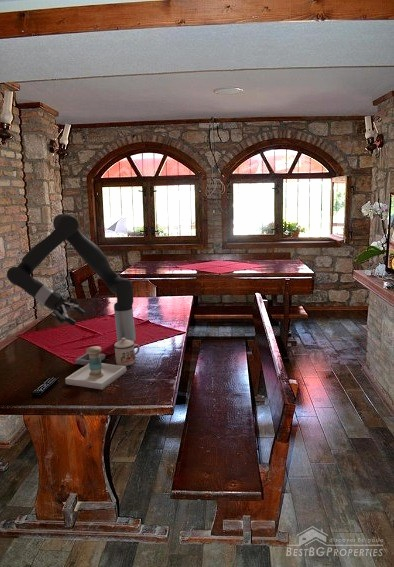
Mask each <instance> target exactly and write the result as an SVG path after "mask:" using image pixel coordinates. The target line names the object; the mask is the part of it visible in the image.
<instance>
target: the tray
mask: <svg viewBox="0 0 394 567" xmlns="http://www.w3.org/2000/svg"><path fill="white" fill-rule="evenodd" d="M101 367H102V368H101V371H103V372H104V376H103V377H101V378H98V379H91V378H90V377H89V373H90V372H91V370H90V366H89V364H87V365H83V367H81V368H79V369H77V370H76V371H74V372H73V373H72V374H70V375H68V376H67V377H66V378H64V380H65V381H64V382H65V385H69V386H70V385H71V386H77V387H81V388H83V387H84V388H89V389H90V388H91V389H97V390H104V389H105V388H107V387H108V386H110V385H111V384H112V383H113V382H115V381H116V380H117V379H119V378H121V377H122V375H124V374H126V372H127V366H121V365H117V364H111V363H103V362H101Z"/></svg>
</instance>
